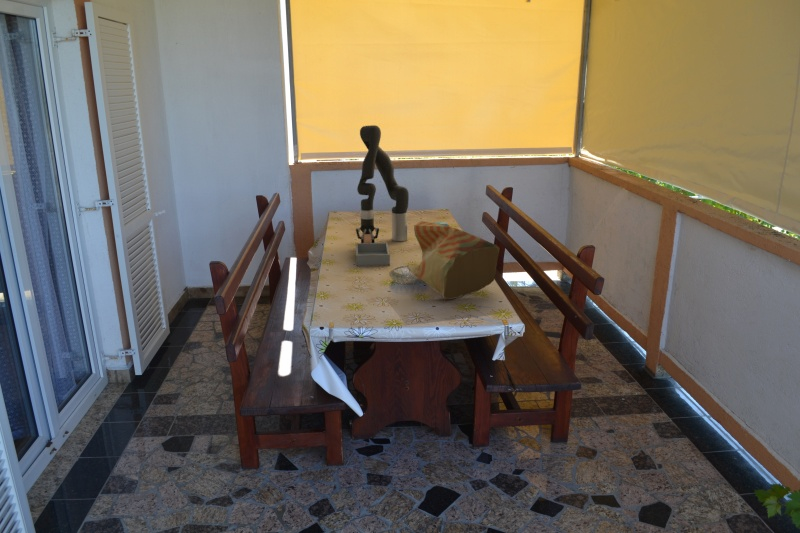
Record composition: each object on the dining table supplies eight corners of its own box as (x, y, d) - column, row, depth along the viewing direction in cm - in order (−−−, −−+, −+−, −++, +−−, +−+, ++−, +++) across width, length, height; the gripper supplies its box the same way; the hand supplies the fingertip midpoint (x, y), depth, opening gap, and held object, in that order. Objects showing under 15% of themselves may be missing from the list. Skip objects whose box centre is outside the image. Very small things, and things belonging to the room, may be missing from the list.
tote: (387, 252, 367) (387, 242, 365) (389, 265, 344) (389, 254, 342) (356, 253, 366) (355, 243, 364) (356, 266, 343) (356, 255, 341)
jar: (372, 247, 379) (371, 232, 376) (372, 249, 374) (372, 234, 371) (363, 247, 378) (363, 232, 375) (363, 249, 373) (363, 234, 370)
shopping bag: (467, 235, 275) (406, 203, 301) (437, 300, 280) (378, 264, 306) (509, 250, 303) (450, 219, 328) (481, 309, 308) (424, 274, 333)
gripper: (379, 215, 374) (379, 243, 379) (354, 215, 373) (355, 243, 378) (379, 218, 367) (380, 246, 372) (354, 218, 366) (355, 247, 371)
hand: (367, 245), depth 375 cm, fingers closed on jar, 5 cm apart
